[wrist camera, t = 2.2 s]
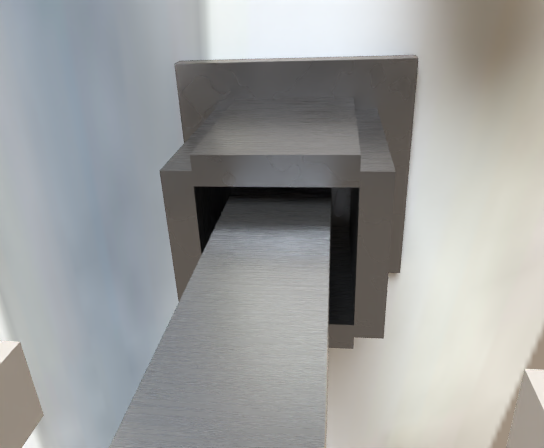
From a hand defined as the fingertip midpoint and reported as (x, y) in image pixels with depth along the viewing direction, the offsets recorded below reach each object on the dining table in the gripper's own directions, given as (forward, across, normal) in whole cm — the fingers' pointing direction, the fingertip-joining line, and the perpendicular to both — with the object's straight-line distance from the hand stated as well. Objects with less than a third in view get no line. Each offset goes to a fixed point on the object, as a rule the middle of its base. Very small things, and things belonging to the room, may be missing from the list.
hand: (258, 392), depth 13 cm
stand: (+17, 0, 0) cm, 17 cm away
